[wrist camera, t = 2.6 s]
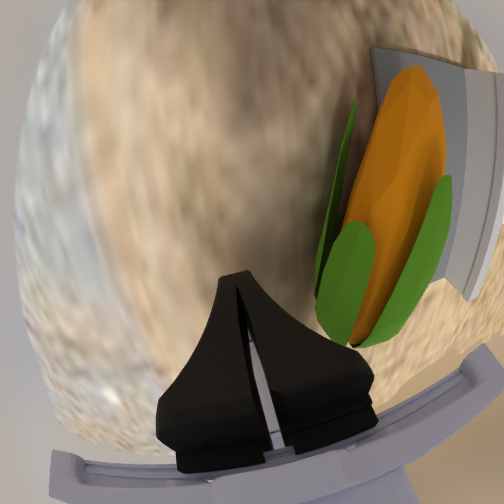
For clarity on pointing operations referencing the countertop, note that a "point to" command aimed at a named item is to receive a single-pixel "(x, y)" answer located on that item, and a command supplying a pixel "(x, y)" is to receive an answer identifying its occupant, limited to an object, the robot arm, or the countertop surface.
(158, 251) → the countertop surface
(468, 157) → the bracket
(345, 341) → the toy fruit
